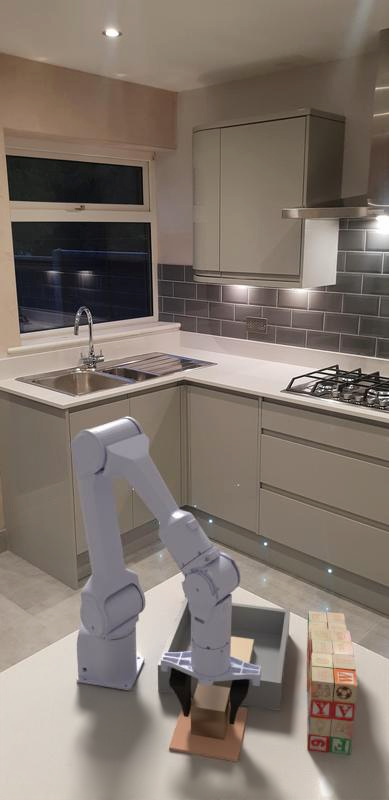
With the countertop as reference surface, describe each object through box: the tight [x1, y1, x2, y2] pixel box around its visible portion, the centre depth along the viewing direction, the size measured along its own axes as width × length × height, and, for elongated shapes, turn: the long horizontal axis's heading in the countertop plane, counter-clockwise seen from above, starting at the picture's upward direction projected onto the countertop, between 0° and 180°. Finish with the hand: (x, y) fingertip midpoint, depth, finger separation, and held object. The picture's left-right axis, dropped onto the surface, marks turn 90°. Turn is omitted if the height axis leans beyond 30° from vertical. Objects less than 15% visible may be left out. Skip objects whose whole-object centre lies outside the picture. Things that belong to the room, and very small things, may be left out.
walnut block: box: [191, 683, 230, 740], centre depth 96 cm, size 5×5×5 cm
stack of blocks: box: [306, 610, 358, 756], centre depth 101 cm, size 21×6×12 cm, turn 171°
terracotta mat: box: [168, 699, 249, 763], centre depth 96 cm, size 10×10×1 cm
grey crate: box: [157, 596, 291, 711], centre depth 111 cm, size 20×20×6 cm
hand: (209, 715), depth 96 cm, fingers open, 6 cm apart
